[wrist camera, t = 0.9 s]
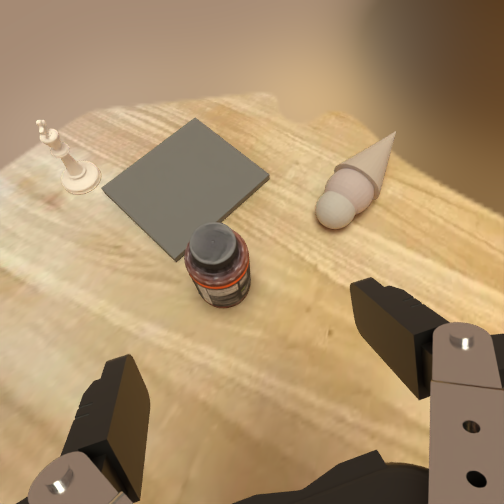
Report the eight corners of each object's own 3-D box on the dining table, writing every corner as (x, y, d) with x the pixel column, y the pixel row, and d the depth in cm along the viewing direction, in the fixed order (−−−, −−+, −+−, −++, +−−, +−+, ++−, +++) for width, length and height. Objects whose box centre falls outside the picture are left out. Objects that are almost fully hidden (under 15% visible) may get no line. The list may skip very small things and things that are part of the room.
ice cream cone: (390, 152, 47) (323, 238, 44) (365, 116, 44) (293, 205, 42) (429, 146, 41) (356, 244, 39) (403, 105, 39) (323, 207, 36)
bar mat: (176, 262, 41) (174, 258, 40) (104, 192, 45) (101, 188, 44) (269, 179, 45) (269, 174, 44) (196, 122, 49) (195, 117, 48)
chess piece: (62, 197, 44) (11, 143, 35) (63, 166, 46) (16, 107, 37) (101, 191, 45) (61, 136, 36) (101, 161, 47) (63, 101, 38)
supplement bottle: (201, 258, 41) (182, 208, 30) (252, 261, 41) (250, 211, 30) (195, 308, 38) (172, 272, 28) (248, 311, 38) (246, 276, 28)
